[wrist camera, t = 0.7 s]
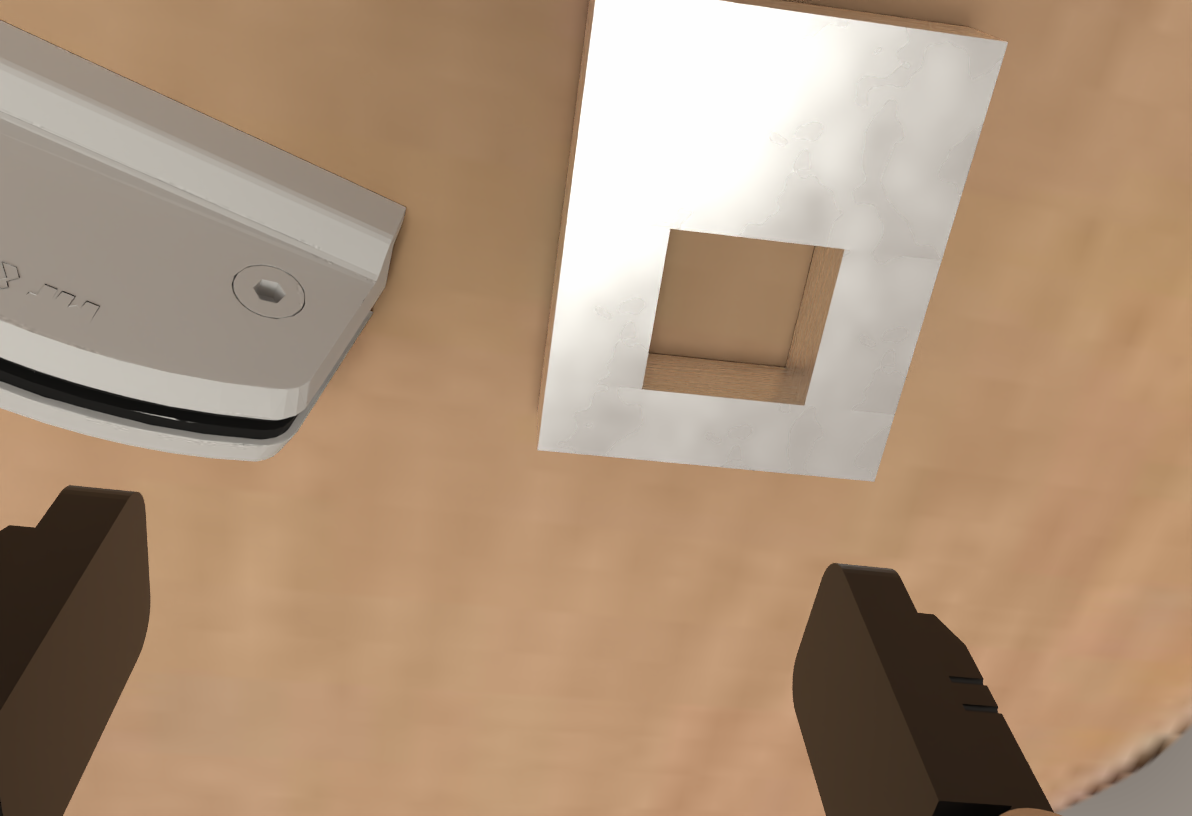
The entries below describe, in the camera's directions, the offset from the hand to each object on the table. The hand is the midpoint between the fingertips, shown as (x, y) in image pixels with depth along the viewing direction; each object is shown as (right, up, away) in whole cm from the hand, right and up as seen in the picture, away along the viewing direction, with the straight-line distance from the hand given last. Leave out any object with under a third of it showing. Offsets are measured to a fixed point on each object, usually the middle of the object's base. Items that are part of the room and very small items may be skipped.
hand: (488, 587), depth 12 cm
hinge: (-14, +9, +22) cm, 28 cm away
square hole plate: (+6, +8, +23) cm, 25 cm away
